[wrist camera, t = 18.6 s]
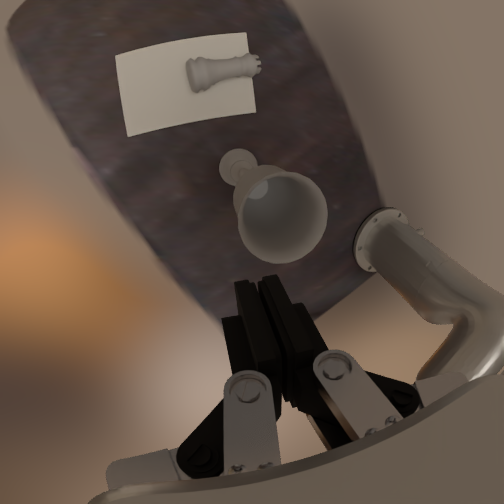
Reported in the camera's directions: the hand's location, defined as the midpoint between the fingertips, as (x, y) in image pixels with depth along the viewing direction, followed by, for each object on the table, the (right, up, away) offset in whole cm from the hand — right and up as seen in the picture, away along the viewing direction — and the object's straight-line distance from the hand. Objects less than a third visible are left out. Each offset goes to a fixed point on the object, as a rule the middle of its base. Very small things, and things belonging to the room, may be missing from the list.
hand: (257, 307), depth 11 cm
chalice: (-2, +13, +24) cm, 28 cm away
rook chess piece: (-7, +21, +15) cm, 27 cm away
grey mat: (-8, +23, +17) cm, 29 cm away
